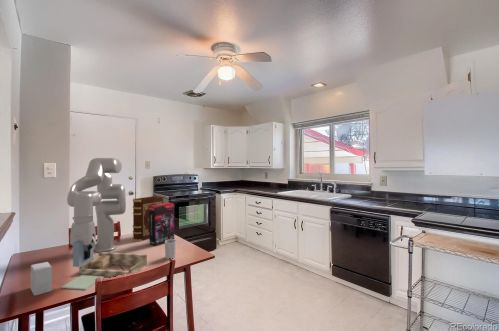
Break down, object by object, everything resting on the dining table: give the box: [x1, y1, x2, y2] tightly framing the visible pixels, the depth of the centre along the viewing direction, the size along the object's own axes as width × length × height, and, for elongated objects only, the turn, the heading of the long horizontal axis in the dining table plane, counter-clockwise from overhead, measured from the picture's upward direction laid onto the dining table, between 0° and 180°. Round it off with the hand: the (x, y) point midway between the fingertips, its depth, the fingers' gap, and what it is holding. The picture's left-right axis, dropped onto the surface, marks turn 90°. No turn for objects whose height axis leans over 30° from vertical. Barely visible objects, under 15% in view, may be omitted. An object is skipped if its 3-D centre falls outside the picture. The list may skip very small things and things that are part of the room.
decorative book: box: [132, 195, 164, 242], centre depth 193 cm, size 22×8×30 cm, turn 148°
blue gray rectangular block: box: [72, 241, 94, 268], centre depth 120 cm, size 3×9×11 cm, turn 173°
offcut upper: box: [91, 255, 110, 267], centre depth 136 cm, size 6×8×3 cm
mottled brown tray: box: [78, 251, 148, 277], centre depth 135 cm, size 28×15×6 cm, turn 83°
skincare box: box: [29, 261, 53, 296], centre depth 114 cm, size 10×6×10 cm, turn 48°
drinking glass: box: [164, 238, 177, 260], centre depth 153 cm, size 7×7×10 cm
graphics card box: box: [149, 202, 175, 247], centre depth 181 cm, size 17×7×27 cm, turn 147°
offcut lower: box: [88, 261, 113, 270], centre depth 136 cm, size 7×9×3 cm
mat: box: [61, 274, 105, 291], centre depth 121 cm, size 12×12×1 cm
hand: (83, 258), depth 120 cm, fingers closed on blue gray rectangular block, 3 cm apart
